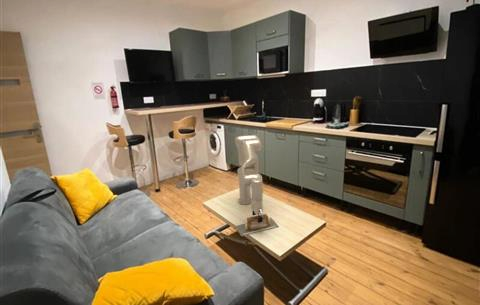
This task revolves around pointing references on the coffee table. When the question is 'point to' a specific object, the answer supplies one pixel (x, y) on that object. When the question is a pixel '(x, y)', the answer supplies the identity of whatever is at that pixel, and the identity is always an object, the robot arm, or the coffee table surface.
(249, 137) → the robot arm
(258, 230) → the board
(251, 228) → the wooden block
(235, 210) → the coffee table surface
